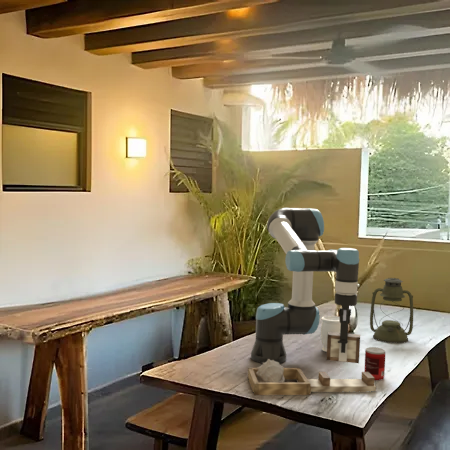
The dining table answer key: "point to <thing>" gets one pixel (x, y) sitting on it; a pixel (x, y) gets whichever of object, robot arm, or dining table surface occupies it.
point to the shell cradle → (281, 383)
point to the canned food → (375, 362)
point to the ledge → (342, 384)
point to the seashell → (270, 372)
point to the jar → (329, 328)
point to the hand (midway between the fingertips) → (342, 359)
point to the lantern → (389, 328)
